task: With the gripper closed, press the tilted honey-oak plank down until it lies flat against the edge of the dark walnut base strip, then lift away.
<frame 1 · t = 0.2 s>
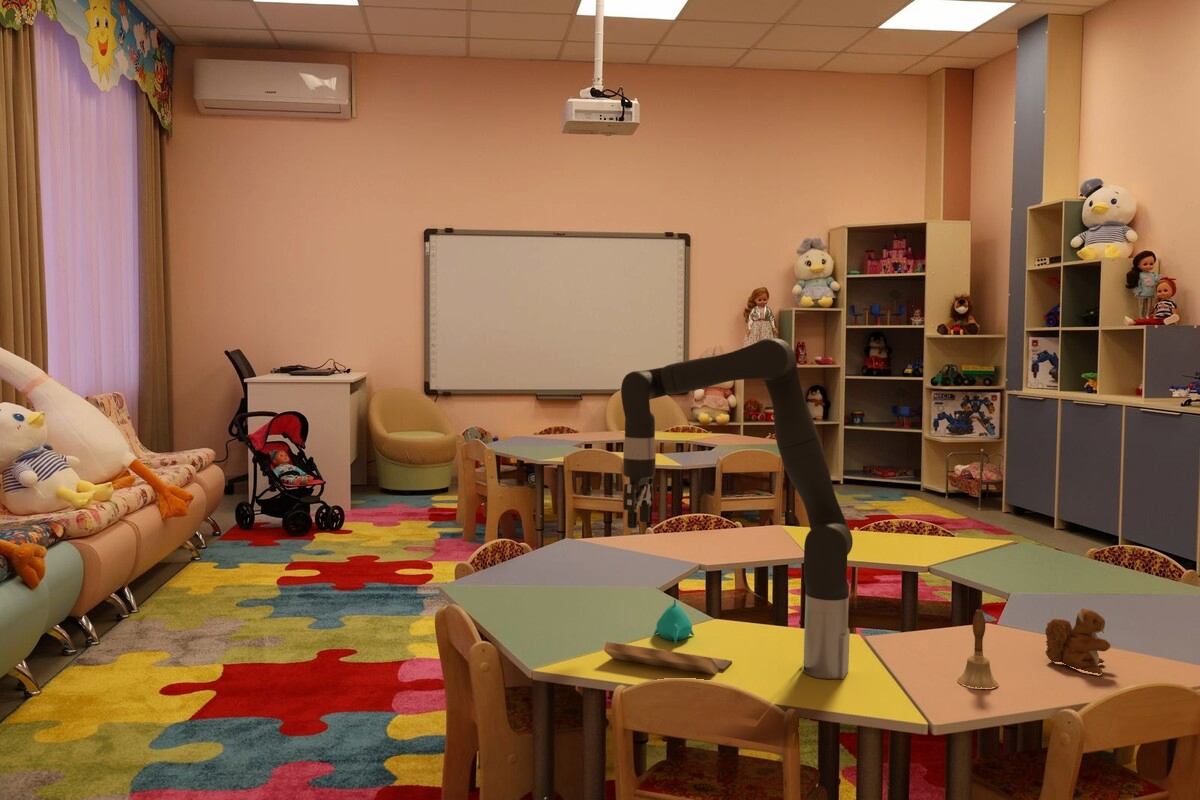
hand: (638, 524, 239), 29 cm above the table, tool pointing down, fingers open, 8 cm apart
hand bell: (977, 684, 218), on the table
plank: (660, 658, 221), point 3 cm above the table, hinge at 32.0°
base strip: (671, 663, 227), on the table
toy shark: (674, 643, 243), on the table
stuffed squirrel: (1074, 666, 231), on the table
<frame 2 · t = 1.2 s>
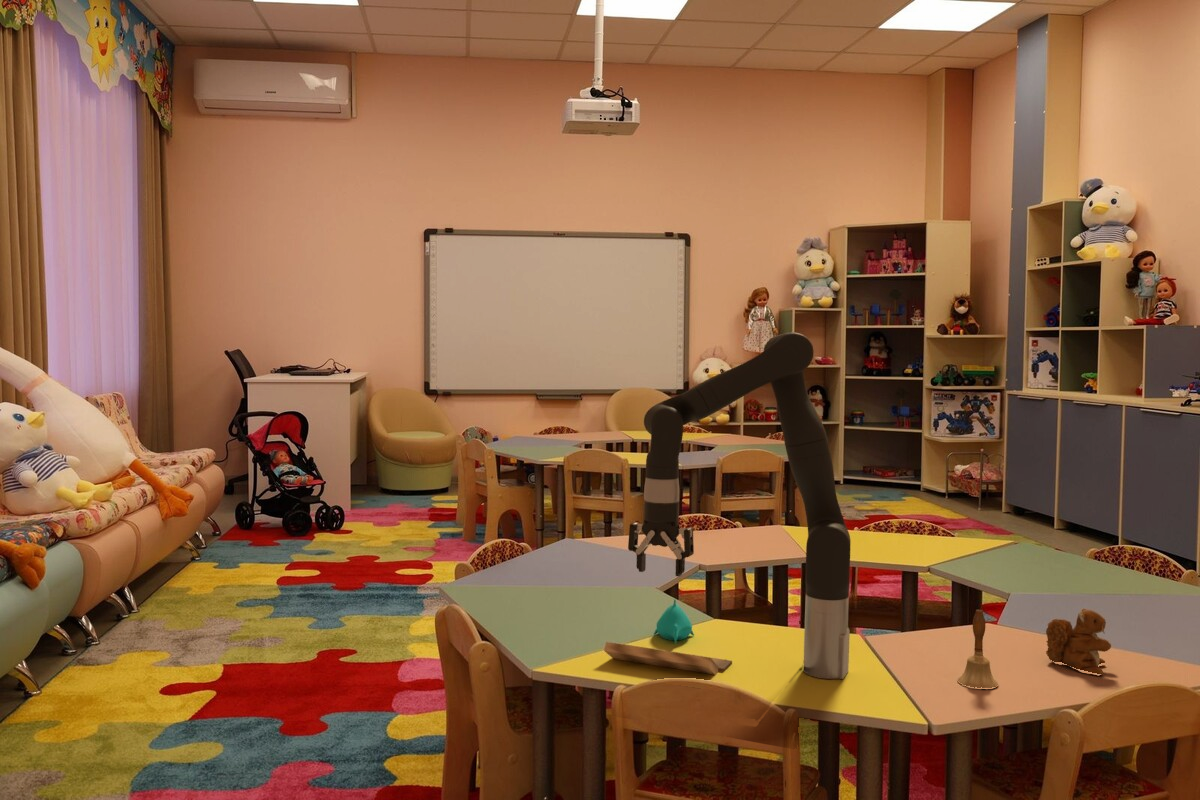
hand: (660, 573, 219), 22 cm above the table, tool pointing down, fingers open, 8 cm apart
nothing on the table moved.
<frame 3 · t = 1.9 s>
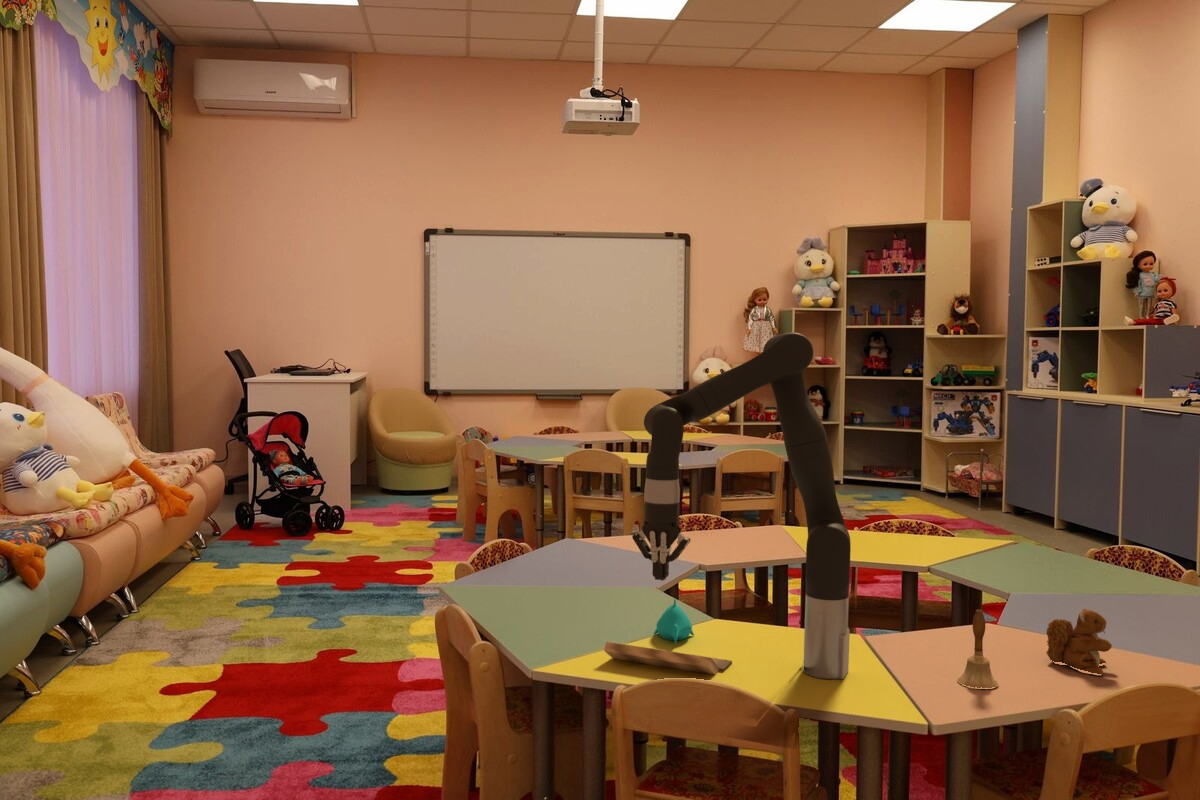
hand: (660, 579, 218), 21 cm above the table, tool pointing down, fingers closed
nothing on the table moved.
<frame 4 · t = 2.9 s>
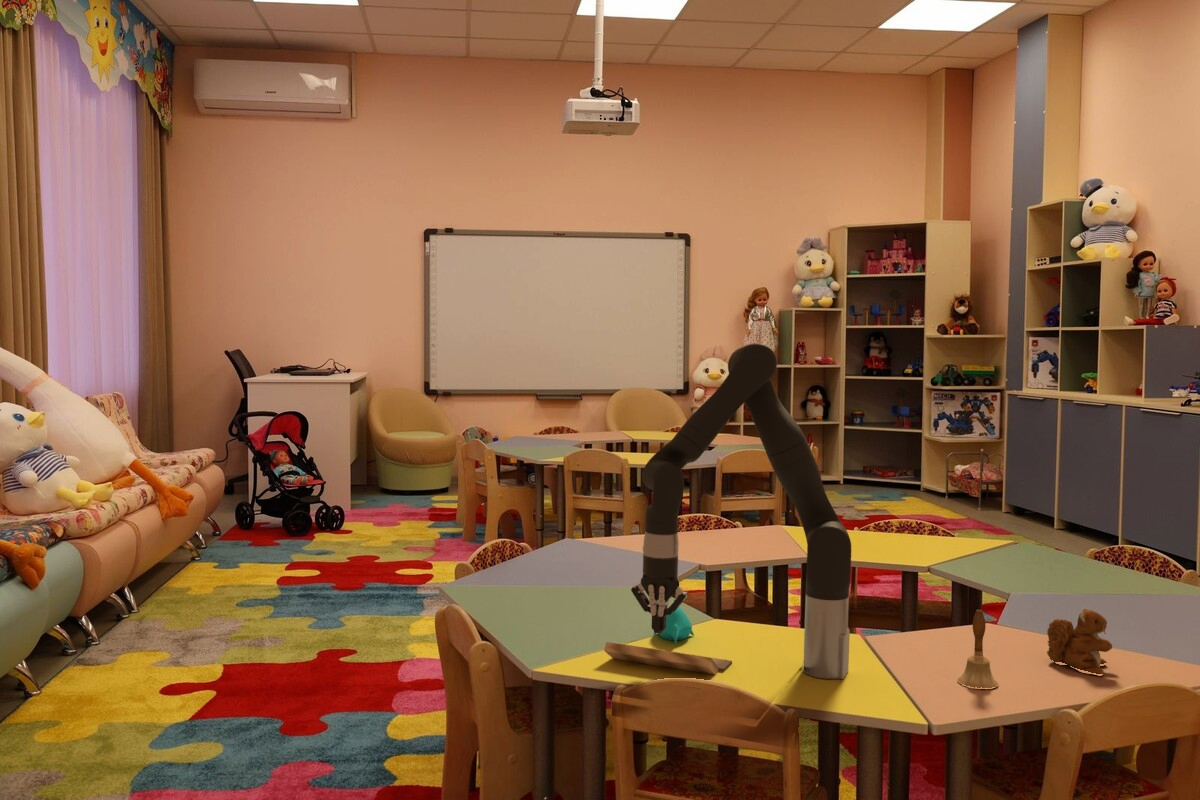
hand: (658, 632, 219), 9 cm above the table, tool pointing down, fingers closed
nothing on the table moved.
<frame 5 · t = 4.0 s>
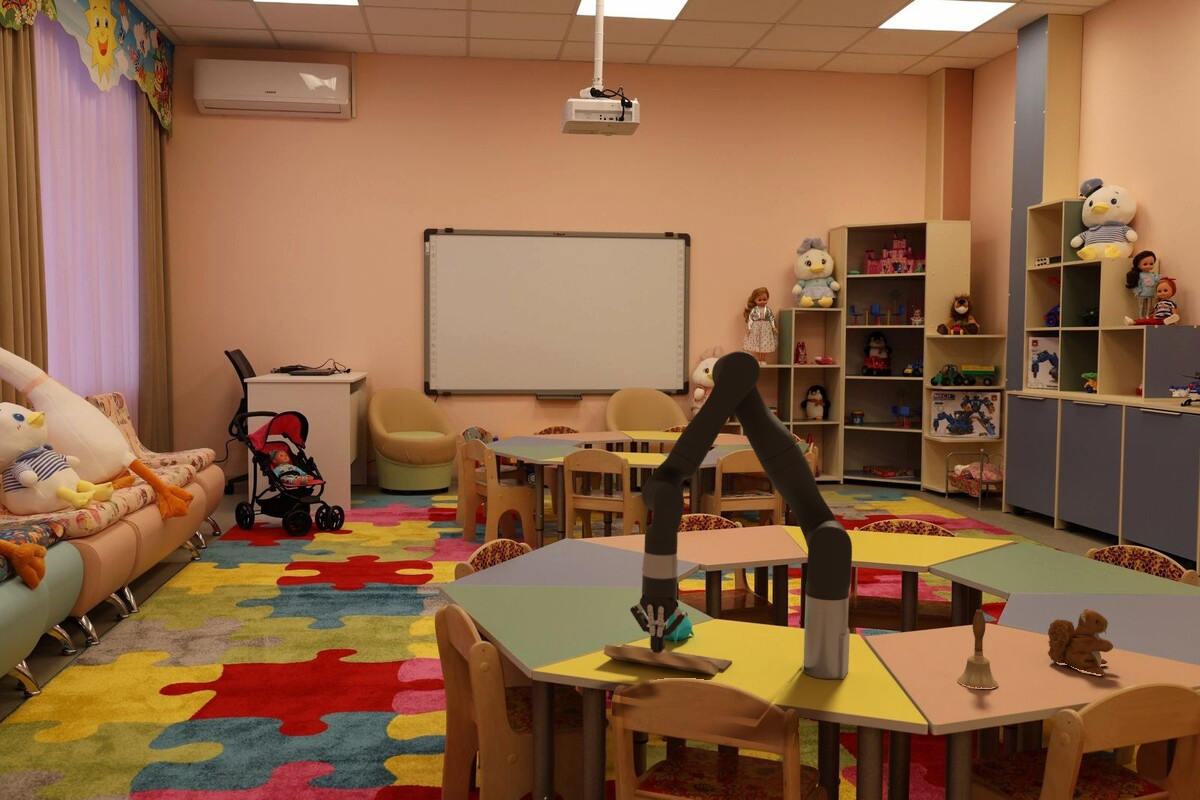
hand: (657, 652, 219), 5 cm above the table, tool pointing down, fingers closed
plank: (660, 660, 221), point 3 cm above the table, hinge at 27.0°, touching gripper
everything else where it was.
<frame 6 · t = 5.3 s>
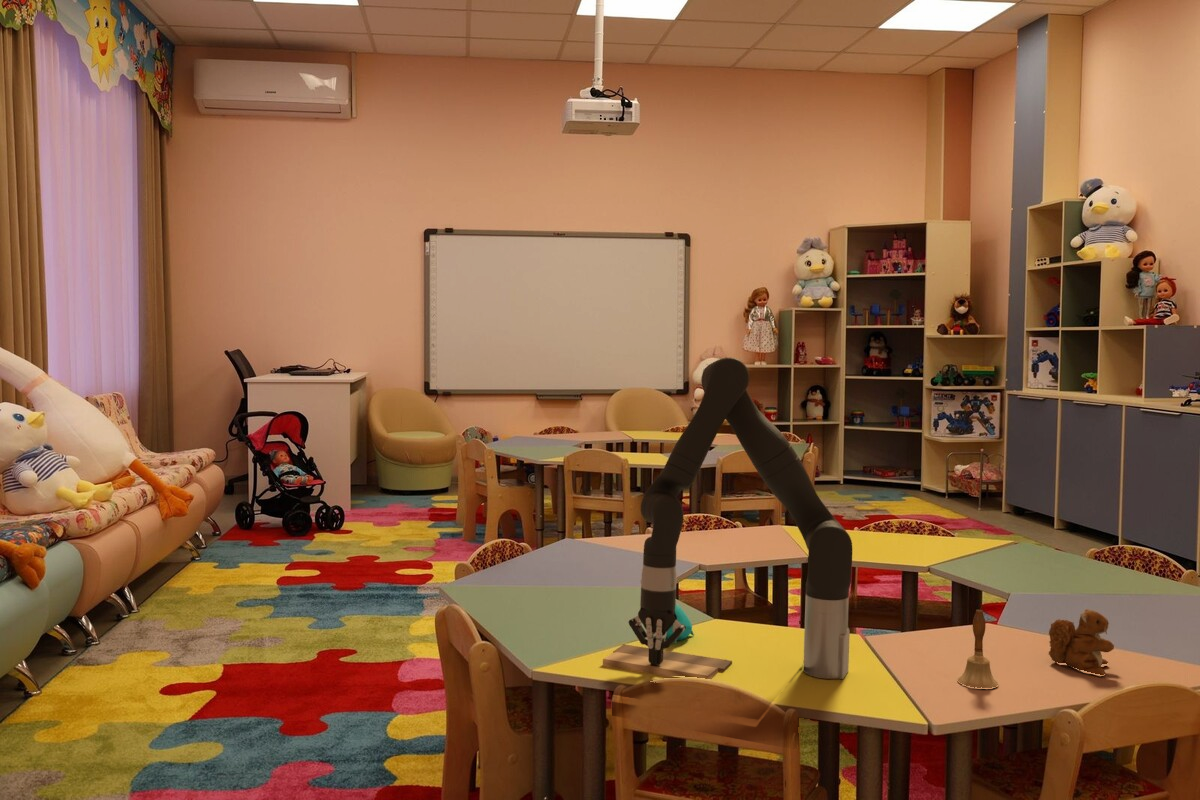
hand: (655, 665, 219), 2 cm above the table, tool pointing down, fingers closed
plank: (659, 667, 221), point 1 cm above the table, hinge at 3.5°, touching gripper
everything else where it was.
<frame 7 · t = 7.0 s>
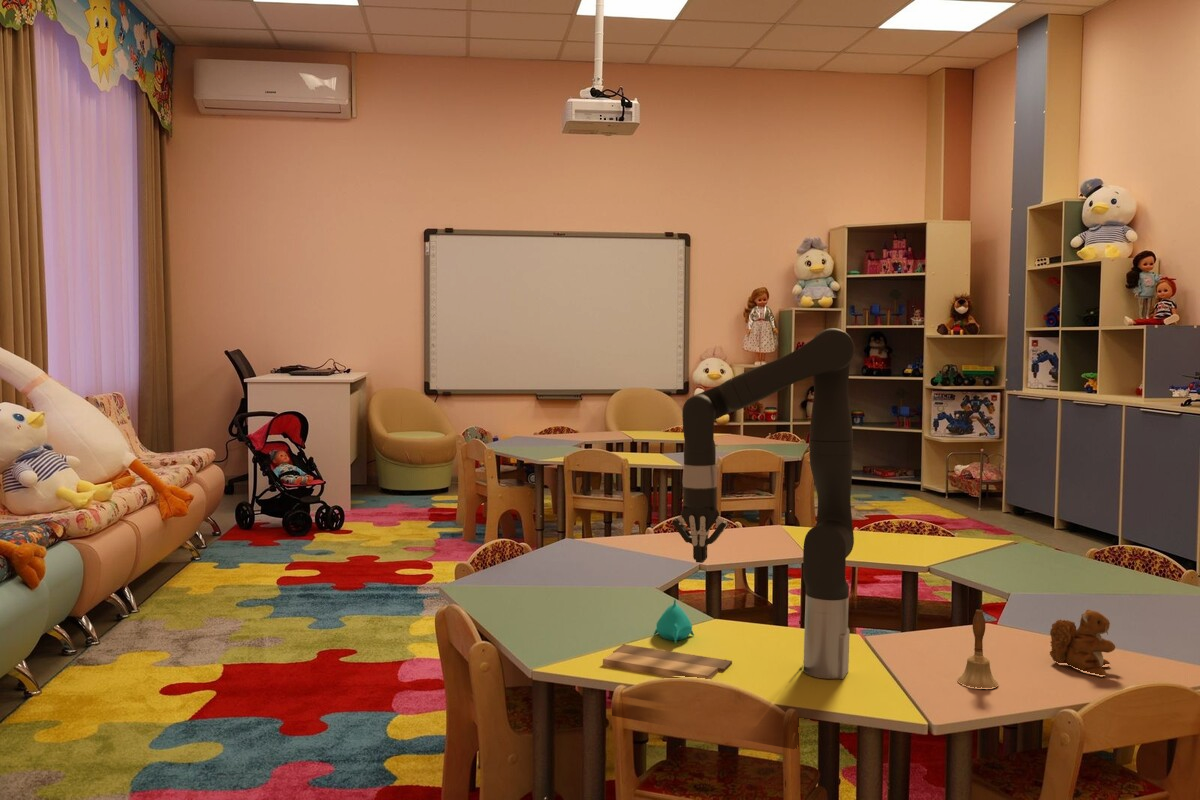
hand: (700, 561, 226), 23 cm above the table, tool pointing down, fingers closed
plank: (659, 667, 221), point 1 cm above the table, hinge at 3.5°
everything else where it was.
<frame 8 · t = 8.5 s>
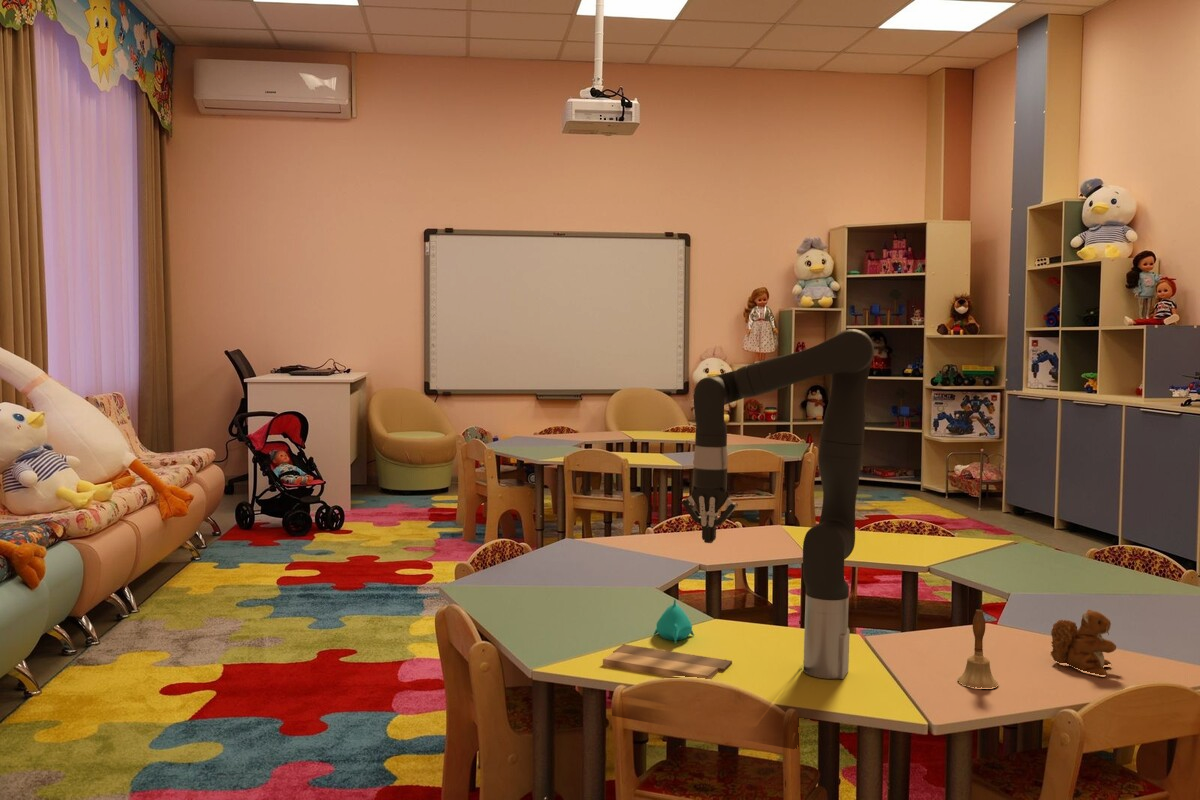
hand: (708, 542, 229), 27 cm above the table, tool pointing down, fingers closed
at the end: plank at +4° (first picture: +32°) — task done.
